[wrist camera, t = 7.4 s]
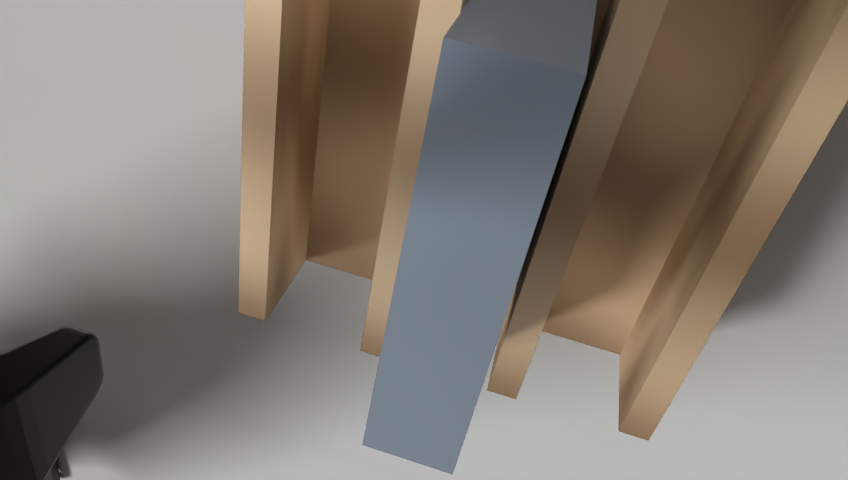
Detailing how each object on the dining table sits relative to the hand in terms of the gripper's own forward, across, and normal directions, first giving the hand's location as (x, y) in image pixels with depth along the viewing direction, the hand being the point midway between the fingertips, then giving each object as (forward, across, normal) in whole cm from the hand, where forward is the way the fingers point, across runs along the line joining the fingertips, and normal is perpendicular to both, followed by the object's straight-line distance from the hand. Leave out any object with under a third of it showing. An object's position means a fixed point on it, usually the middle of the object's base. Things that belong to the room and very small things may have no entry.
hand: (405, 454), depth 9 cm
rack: (+11, 0, 0) cm, 11 cm away
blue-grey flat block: (+10, 0, 0) cm, 10 cm away
